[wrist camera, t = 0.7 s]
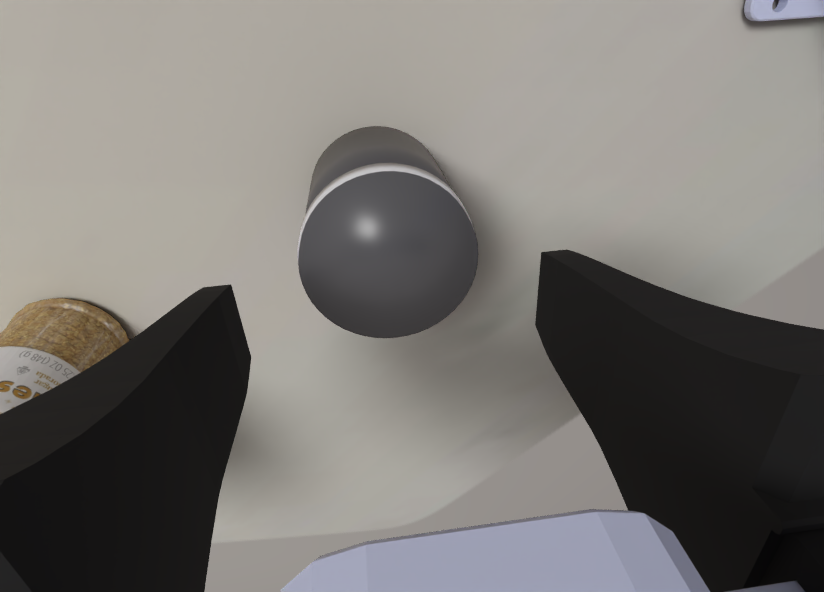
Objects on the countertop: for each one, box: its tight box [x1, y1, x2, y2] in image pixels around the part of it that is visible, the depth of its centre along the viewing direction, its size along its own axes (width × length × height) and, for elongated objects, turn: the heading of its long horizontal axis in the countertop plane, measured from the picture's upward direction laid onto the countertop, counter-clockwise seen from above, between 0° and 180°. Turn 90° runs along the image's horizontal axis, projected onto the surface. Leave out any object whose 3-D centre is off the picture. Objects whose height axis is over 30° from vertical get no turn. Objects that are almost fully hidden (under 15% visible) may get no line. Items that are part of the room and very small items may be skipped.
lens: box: [298, 126, 478, 338], centre depth 16 cm, size 5×5×6 cm
